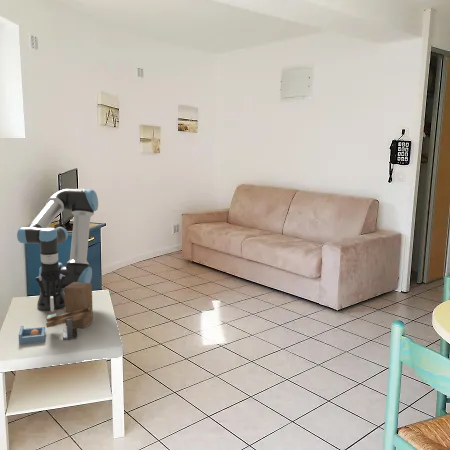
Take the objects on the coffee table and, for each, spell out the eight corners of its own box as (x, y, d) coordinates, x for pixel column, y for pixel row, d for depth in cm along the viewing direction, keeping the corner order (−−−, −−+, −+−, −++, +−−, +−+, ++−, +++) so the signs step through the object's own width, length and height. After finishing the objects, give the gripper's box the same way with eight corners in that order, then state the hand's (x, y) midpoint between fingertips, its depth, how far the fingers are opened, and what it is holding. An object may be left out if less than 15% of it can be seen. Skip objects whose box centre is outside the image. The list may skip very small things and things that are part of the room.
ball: (38, 336, 218) (29, 335, 217) (40, 328, 217) (31, 327, 216) (37, 339, 214) (29, 338, 213) (39, 331, 214) (31, 330, 213)
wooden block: (83, 329, 227) (82, 289, 223) (64, 327, 229) (63, 287, 225) (93, 321, 237) (92, 282, 233) (75, 319, 239) (73, 281, 235)
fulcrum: (63, 340, 214) (62, 321, 213) (63, 330, 225) (62, 312, 223) (77, 338, 216) (76, 319, 215) (76, 329, 226) (76, 311, 225)
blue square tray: (21, 335, 219) (20, 325, 218) (45, 332, 222) (44, 323, 221) (19, 344, 209) (18, 334, 208) (44, 341, 212) (43, 332, 211)
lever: (46, 328, 213) (45, 321, 213) (48, 317, 226) (46, 310, 225) (92, 316, 219) (90, 309, 218) (90, 306, 231) (89, 299, 230)
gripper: (33, 265, 212) (37, 314, 217) (64, 263, 216) (67, 312, 221) (35, 260, 219) (38, 308, 224) (64, 258, 223) (67, 306, 228)
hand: (52, 310), depth 223 cm, fingers closed
